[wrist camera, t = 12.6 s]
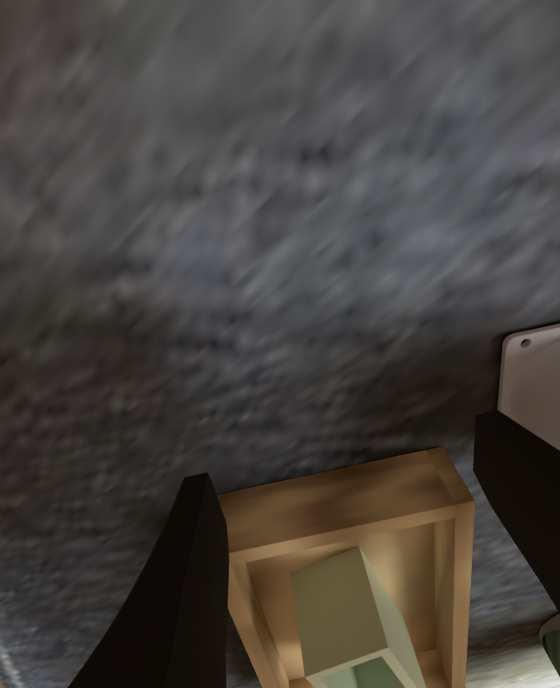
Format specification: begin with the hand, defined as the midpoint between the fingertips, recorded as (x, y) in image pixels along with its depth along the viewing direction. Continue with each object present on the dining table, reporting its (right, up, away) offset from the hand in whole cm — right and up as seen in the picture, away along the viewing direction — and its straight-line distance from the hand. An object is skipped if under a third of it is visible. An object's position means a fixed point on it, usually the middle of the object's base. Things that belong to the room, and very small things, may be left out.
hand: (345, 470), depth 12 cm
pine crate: (+3, -13, +20) cm, 24 cm away
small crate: (+3, -14, +19) cm, 24 cm away
